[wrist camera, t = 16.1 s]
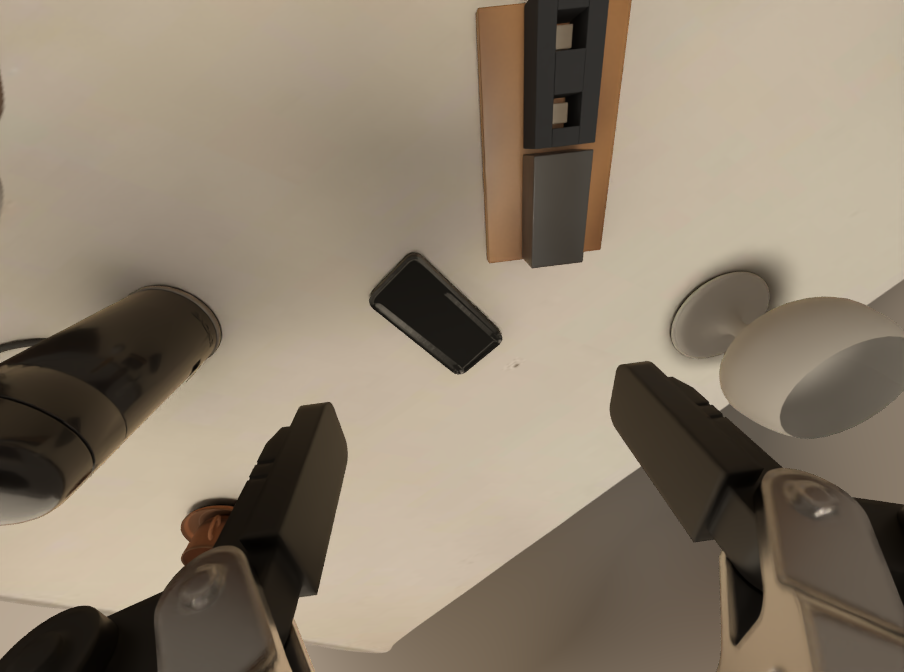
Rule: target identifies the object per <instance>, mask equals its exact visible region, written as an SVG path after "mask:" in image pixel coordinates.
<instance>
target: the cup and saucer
mask: <svg viewBox="0 0 904 672" xmlns="http://www.w3.org/2000/svg"><path fill="white" fill-rule="evenodd" d="M233 508H234V507H233V506H226V505H214V506H207V507H203V508H200V509H197V510H195V511H193V512H191V513H190V514H189V515H188V516H186V518H185V519H184V520H183V521H182V524H181V532H182V534H183V535H184V537H185V538H186V539H187V540H188V541H189V542H190V543H189V544H188V546H187V548H186V549H185V551H184V553H183V554H182V556H181V561H182V563H183V564H184V565H186V564H188V563H189V562H190V561H191V560H193V559H194V558H196V557H197V556H199V555H200V554H202V553H204V552H206V551H208V550H210V549H212V548H213V546H214V544H215V543H216V541H217V539H218V537H219V535H220V533H221V531H222V529H223V527H224V525H225V523H226V521H227V519H228V517H229V515H230V513H231V511H232V510H233Z"/></svg>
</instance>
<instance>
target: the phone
mask: <svg viewBox="0 0 904 672" xmlns="http://www.w3.org/2000/svg"><path fill="white" fill-rule="evenodd" d="M369 303H370V305H371V307H372V308H373V309H374V310H375V311H377V312H378V313H379V314H380V315H382V316H383V317H384V318H385V319H387V320H388V321H389V322H390V323H392V324H393V325H394V326H395V327H397V328H398V329H399V330H400V331H402V332H403V333H404V334H405V335H407V336H408V337H409V338H410V339H412V340H413V341H414V342H415V343H417V344H418V345H419V346H420V347H422V348H423V349H424V350H425V351H427V352H428V353H429V354H430V355H432V356H433V357H434V358H435V359H437V360H438V361H439V362H440V363H442V364H443V365H444V366H445V367H447V368H448V369H449V370H450V371H452V372H453V373H455V374H463V373H465V372H467V371H468V370H469V369H470V368H471V367H473V366H474V365H475V364H476V363H477V362H479V361H480V360H481V359H482V358H484V357H485V356H486V355H487V354H488V353H490V352H491V351H492V350H493V349H495V348H496V347H497V346H498V345H499V344H500V343H501V341H502V335H501V333H500V331H499V329H498V328H497V327H496V326H495V325H494V324H493V323H492V322H491V321H490V320H488V319H487V318H486V317H485V316H484V315H483V314H482V313H481V312H480V311H479V310H478V309H477V308H476V307H475V306H474V305H473V304H472V303H471V302H470V301H469V300H468V299H466V298H465V297H464V296H463V295H462V294H461V293H460V292H459V291H458V290H457V289H456V288H455V287H454V286H453V285H452V284H451V283H450V282H449V281H448V280H447V279H445V278H444V277H443V276H442V275H441V274H440V273H439V272H438V271H437V270H436V269H435V268H434V267H433V266H432V265H431V264H430V263H429V262H428V261H427V260H426V259H425V258H423V257H422V256H421V255H420V254H417V253H411V254H409V255H407V256H406V257H405V258H404V259H403V260H402V261H401V262H400V263H399V264H398V265H397V266H396V268H395V269H394V270H393V271H392V272H391V273H390V274H389V275H388V276H387V277H386V278H385V279H384V280H383V281H382V282H381V283H380V284H379V285H378V286H377V287H376V288H375V289H374V290H373V291H372V293H371V295H370V299H369Z"/></svg>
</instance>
